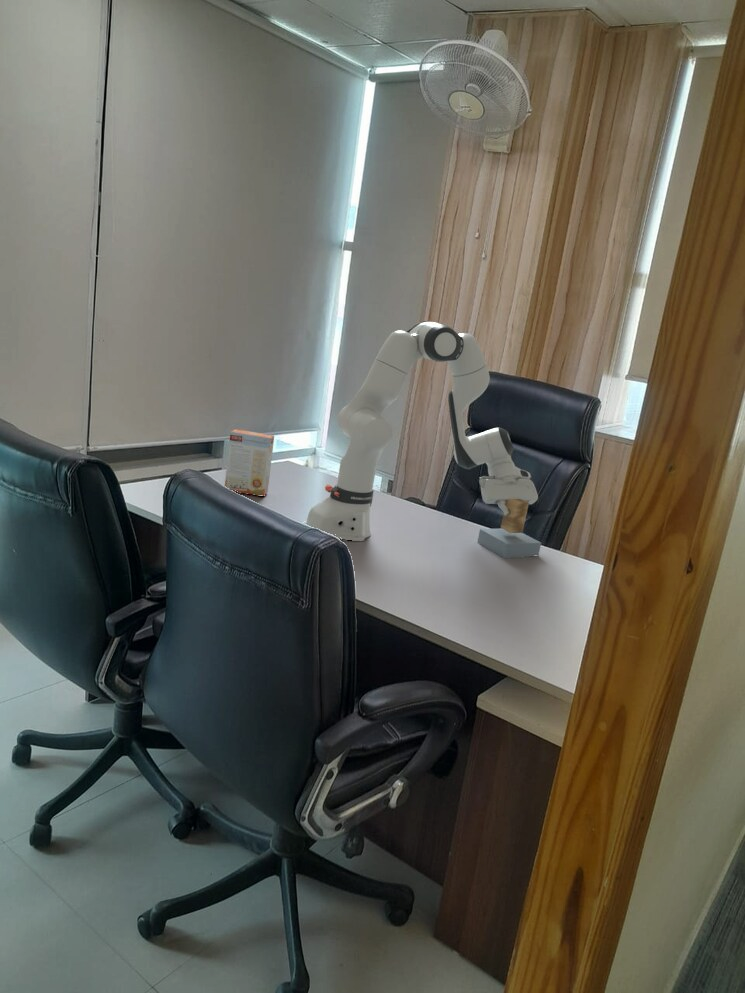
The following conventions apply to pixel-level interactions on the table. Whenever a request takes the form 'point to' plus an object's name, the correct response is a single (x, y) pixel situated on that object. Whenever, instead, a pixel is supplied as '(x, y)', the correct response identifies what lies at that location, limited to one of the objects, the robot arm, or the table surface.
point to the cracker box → (249, 462)
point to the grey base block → (508, 543)
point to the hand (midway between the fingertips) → (516, 514)
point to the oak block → (515, 516)
